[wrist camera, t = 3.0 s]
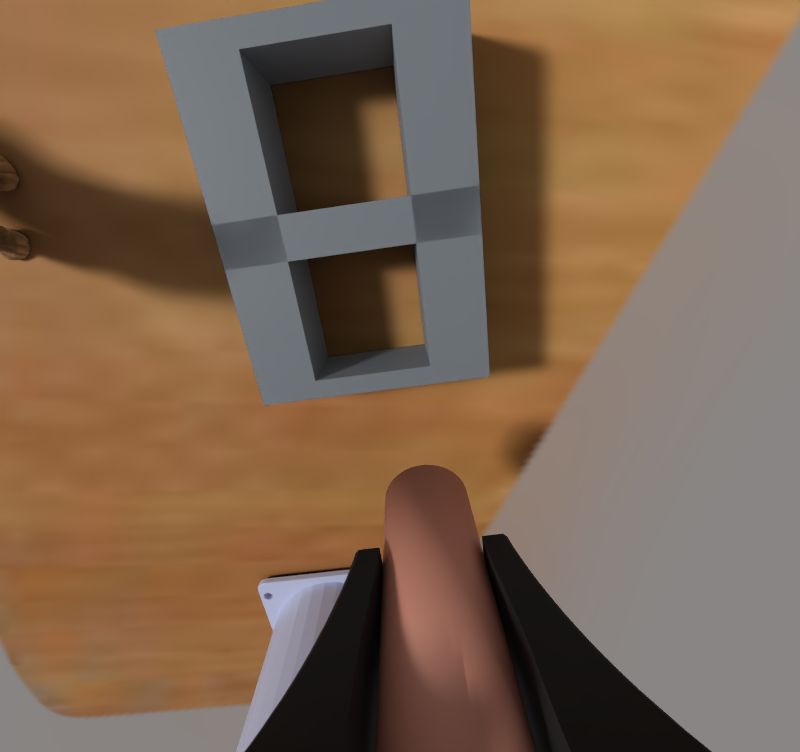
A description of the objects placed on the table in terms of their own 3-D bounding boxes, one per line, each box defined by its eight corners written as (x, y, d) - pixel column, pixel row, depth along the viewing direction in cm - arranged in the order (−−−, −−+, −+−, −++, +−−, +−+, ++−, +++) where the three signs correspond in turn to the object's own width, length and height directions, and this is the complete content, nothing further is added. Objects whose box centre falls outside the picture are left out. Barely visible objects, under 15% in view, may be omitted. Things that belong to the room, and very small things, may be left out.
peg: (470, 527, 14) (548, 843, 7) (391, 536, 15) (386, 856, 7) (464, 460, 13) (549, 747, 6) (379, 470, 14) (359, 763, 6)
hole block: (475, 353, 18) (489, 376, 15) (284, 378, 18) (264, 405, 15) (453, 29, 13) (468, -24, 11) (204, 70, 14) (154, 29, 11)
